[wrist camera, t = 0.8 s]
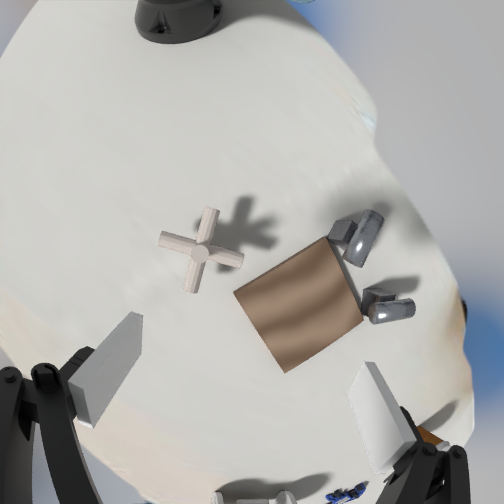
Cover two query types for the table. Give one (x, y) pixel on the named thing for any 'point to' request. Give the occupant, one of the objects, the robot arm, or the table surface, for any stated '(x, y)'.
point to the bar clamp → (346, 495)
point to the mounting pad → (301, 305)
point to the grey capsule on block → (357, 236)
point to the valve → (284, 499)
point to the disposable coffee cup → (434, 439)
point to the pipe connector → (201, 249)
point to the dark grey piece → (385, 306)
